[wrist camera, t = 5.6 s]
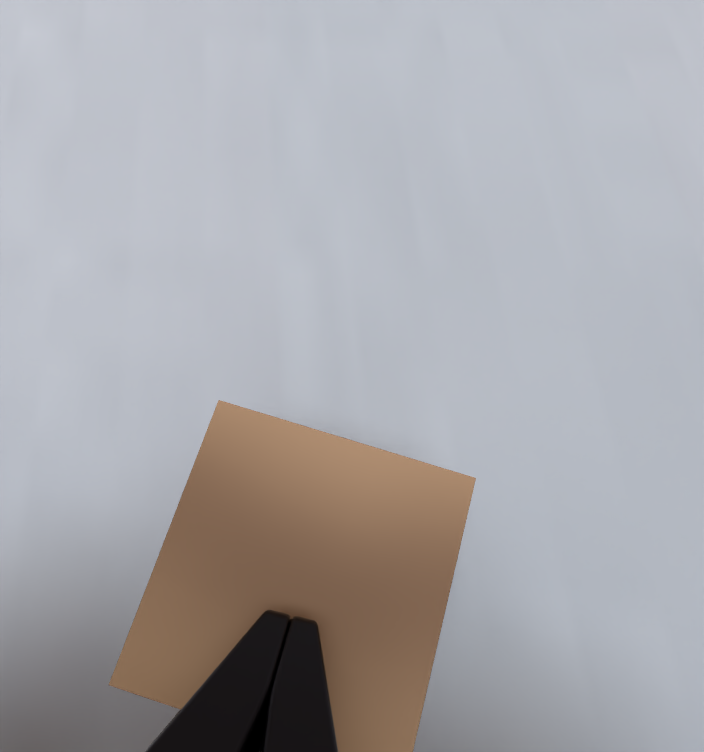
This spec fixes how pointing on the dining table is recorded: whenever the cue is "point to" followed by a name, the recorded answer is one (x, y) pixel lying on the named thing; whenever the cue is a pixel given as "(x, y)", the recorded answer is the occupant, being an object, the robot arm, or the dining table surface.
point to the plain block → (304, 569)
